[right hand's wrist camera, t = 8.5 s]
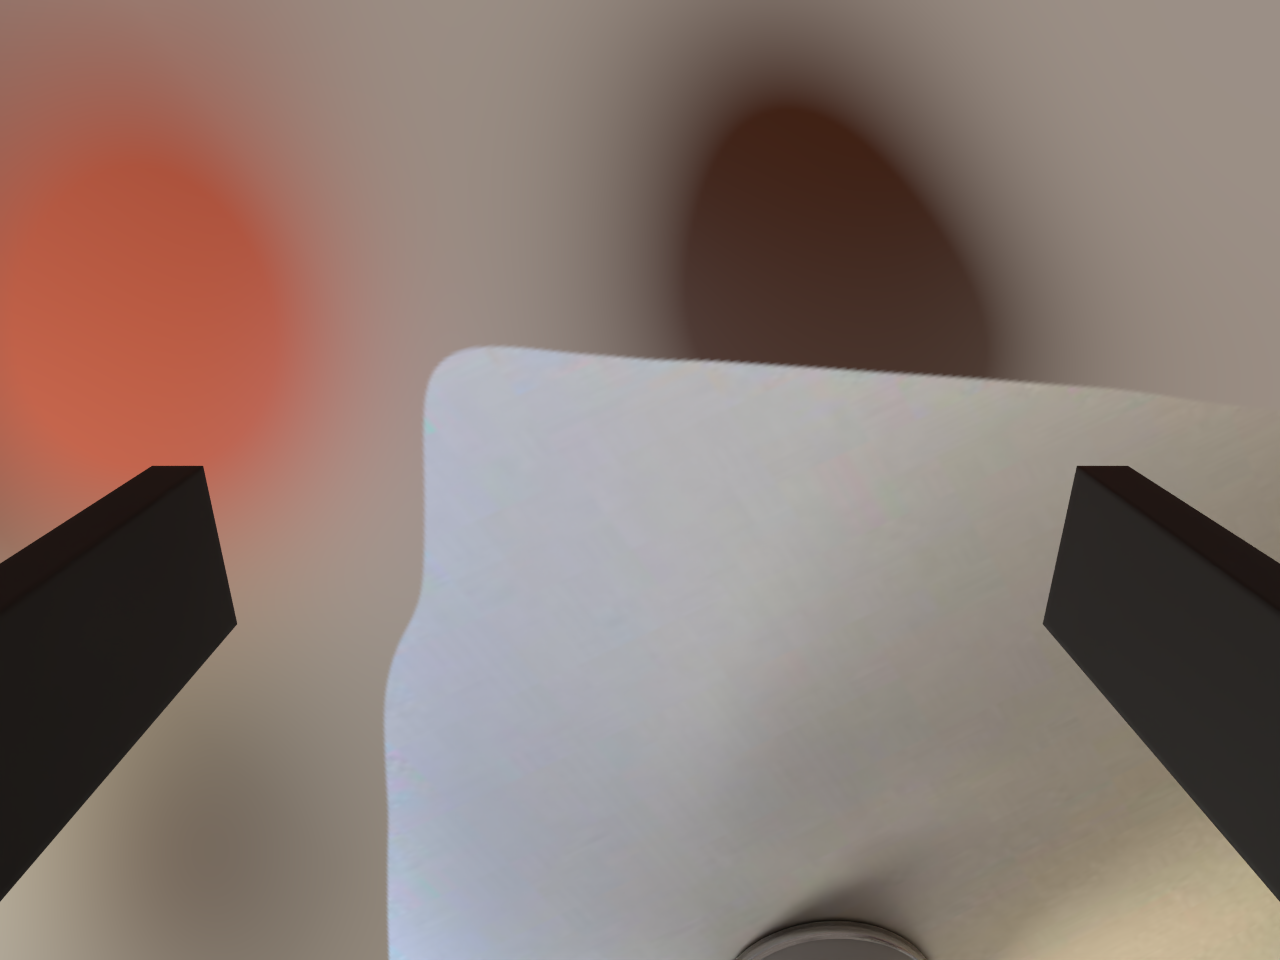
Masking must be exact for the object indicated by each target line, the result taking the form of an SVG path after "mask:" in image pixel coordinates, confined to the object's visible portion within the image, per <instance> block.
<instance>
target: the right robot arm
mask: <svg viewBox="0 0 1280 960" xmlns="http://www.w3.org/2000/svg"><path fill="white" fill-rule="evenodd" d="M236 625H237V621H236V616H235V612H234V607H233V603H232V598H231V593H230V589H229V584H228V579H227V575H226V570H225V565H224V561H223V556H222V552H221V547H220V542H219V538H218V533H217V528H216V524H215V519H214V514H213V510H212V505H211V500H210V496H209V491H208V487H207V482H206V477H205V473H204V468H203V466H151V467H150V468H148V469H147V470H145V471H144V472H142V473H140V474H139V475H137V476H136V477H134V478H133V479H131V480H130V481H128V482H126V483H125V484H123V485H122V486H120V487H119V488H117V489H115V490H114V491H112V492H111V493H109V494H108V495H106V496H105V497H103V498H101V499H100V500H98V501H97V502H95V503H94V504H92V505H91V506H89V507H87V508H86V509H84V510H83V511H81V512H80V513H78V514H77V515H75V516H74V517H72V518H70V519H69V520H67V521H66V522H64V523H63V524H61V525H60V526H58V527H56V528H55V529H53V530H52V531H50V532H49V533H47V534H46V535H44V536H42V537H41V538H39V539H38V540H36V541H35V542H33V543H32V544H30V545H28V546H27V547H25V548H24V549H22V550H21V551H19V552H18V553H16V554H14V555H13V556H11V557H10V558H8V559H7V560H5V561H4V562H2V563H0V901H1V900H2V899H3V898H4V896H5V895H6V894H7V893H8V892H9V891H10V889H11V888H12V887H13V886H14V885H15V884H16V882H17V881H18V880H19V879H20V878H21V877H22V875H23V874H24V873H25V872H26V871H27V870H28V868H29V867H30V866H31V865H32V864H33V862H34V861H35V860H36V859H37V858H38V857H39V855H40V854H41V853H42V852H43V851H44V850H45V848H46V847H47V846H48V845H49V844H50V843H51V841H52V840H53V839H54V838H55V837H56V836H57V834H58V833H59V832H60V831H61V830H62V829H63V827H64V826H65V825H66V824H67V823H68V822H69V820H70V819H71V818H72V817H73V816H74V814H75V813H76V812H77V811H78V810H79V809H80V807H81V806H82V805H83V804H84V803H85V802H86V800H87V799H88V798H89V797H90V796H91V795H92V793H93V792H94V791H95V790H96V789H97V788H98V786H99V785H100V784H101V783H102V782H103V781H104V779H105V778H106V777H107V776H108V775H109V773H110V772H111V771H112V770H113V769H114V768H115V766H116V765H117V764H118V763H119V762H120V761H121V759H122V758H123V757H124V756H125V755H126V754H127V752H128V751H129V750H130V749H131V748H132V746H133V745H134V744H135V743H136V742H137V741H138V739H139V738H140V737H141V736H142V735H143V734H144V733H145V731H146V730H147V729H148V728H149V727H150V725H151V724H152V723H153V722H154V721H155V720H156V718H157V717H158V716H159V715H160V714H161V713H162V711H163V710H164V709H165V708H166V707H167V706H168V704H169V703H170V702H171V701H172V700H173V699H174V697H175V696H176V695H177V694H178V693H179V692H180V690H181V689H182V688H183V687H184V686H185V684H186V683H187V682H188V681H189V680H190V679H191V677H192V676H193V675H194V674H195V673H196V672H197V670H198V669H199V668H200V667H201V666H202V665H203V663H204V662H205V661H206V660H207V659H208V657H209V656H210V655H211V654H212V653H213V652H214V651H215V649H216V648H217V647H218V646H219V645H220V643H221V642H222V641H223V640H224V639H225V638H226V636H227V635H228V634H229V633H230V632H231V631H232V629H233V628H234V627H235V626H236ZM1043 625H1044V626H1045V627H1046V628H1047V629H1048V631H1049V632H1050V633H1051V634H1052V635H1053V636H1054V638H1055V639H1056V640H1057V641H1058V642H1059V643H1060V645H1061V646H1062V647H1063V648H1064V649H1065V651H1066V652H1067V653H1068V654H1069V655H1070V656H1071V658H1072V659H1073V660H1074V661H1075V662H1076V663H1077V665H1078V666H1079V667H1080V668H1081V669H1082V670H1083V672H1084V673H1085V674H1086V675H1087V676H1088V677H1089V679H1090V680H1091V681H1092V682H1093V683H1094V684H1095V686H1096V687H1097V688H1098V689H1099V690H1100V692H1101V693H1102V694H1103V695H1104V696H1105V697H1106V699H1107V700H1108V701H1109V702H1110V703H1111V704H1112V706H1113V707H1114V708H1115V709H1116V710H1117V711H1118V713H1119V714H1120V715H1121V716H1122V717H1123V718H1124V720H1125V721H1126V722H1127V723H1128V724H1129V725H1130V727H1131V728H1132V729H1133V730H1134V731H1135V733H1136V734H1137V735H1138V736H1139V737H1140V738H1141V740H1142V741H1143V742H1144V743H1145V744H1146V745H1147V747H1148V748H1149V749H1150V750H1151V751H1152V752H1153V754H1154V755H1155V756H1156V757H1157V758H1158V759H1159V761H1160V762H1161V763H1162V764H1163V765H1164V766H1165V768H1166V769H1167V770H1168V771H1169V772H1170V774H1171V775H1172V776H1173V777H1174V778H1175V779H1176V781H1177V782H1178V783H1179V784H1180V785H1181V786H1182V788H1183V789H1184V790H1185V791H1186V792H1187V793H1188V795H1189V796H1190V797H1191V798H1192V799H1193V800H1194V802H1195V803H1196V804H1197V805H1198V806H1199V807H1200V809H1201V810H1202V811H1203V812H1204V813H1205V814H1206V816H1207V817H1208V818H1209V819H1210V820H1211V822H1212V823H1213V824H1214V825H1215V826H1216V827H1217V829H1218V830H1219V831H1220V832H1221V833H1222V834H1223V836H1224V837H1225V838H1226V839H1227V840H1228V841H1229V843H1230V844H1231V845H1232V846H1233V847H1234V848H1235V850H1236V851H1237V852H1238V853H1239V854H1240V855H1241V857H1242V858H1243V859H1244V860H1245V861H1246V863H1247V864H1248V865H1249V866H1250V867H1251V868H1252V870H1253V871H1254V872H1255V873H1256V874H1257V875H1258V877H1259V878H1260V879H1261V880H1262V881H1263V882H1264V884H1265V885H1266V886H1267V887H1268V888H1269V889H1270V891H1271V892H1272V893H1273V894H1274V895H1275V896H1276V898H1277V899H1278V900H1279V901H1280V563H1278V562H1276V561H1275V560H1273V559H1272V558H1270V557H1269V556H1267V555H1266V554H1264V553H1262V552H1261V551H1259V550H1258V549H1256V548H1255V547H1253V546H1252V545H1250V544H1248V543H1247V542H1245V541H1244V540H1242V539H1241V538H1239V537H1238V536H1236V535H1234V534H1233V533H1231V532H1230V531H1228V530H1227V529H1225V528H1224V527H1222V526H1220V525H1219V524H1217V523H1216V522H1214V521H1213V520H1211V519H1210V518H1208V517H1206V516H1205V515H1203V514H1202V513H1200V512H1199V511H1197V510H1196V509H1194V508H1193V507H1191V506H1189V505H1188V504H1186V503H1185V502H1183V501H1182V500H1180V499H1179V498H1177V497H1175V496H1174V495H1172V494H1171V493H1169V492H1168V491H1166V490H1165V489H1163V488H1161V487H1160V486H1158V485H1157V484H1155V483H1154V482H1152V481H1151V480H1149V479H1147V478H1146V477H1144V476H1143V475H1141V474H1140V473H1138V472H1137V471H1135V470H1133V469H1132V468H1130V467H1129V466H1077V468H1076V473H1075V477H1074V482H1073V487H1072V491H1071V496H1070V500H1069V505H1068V510H1067V514H1066V519H1065V524H1064V528H1063V533H1062V538H1061V542H1060V547H1059V552H1058V556H1057V561H1056V565H1055V570H1054V575H1053V579H1052V584H1051V589H1050V593H1049V598H1048V603H1047V607H1046V612H1045V616H1044V621H1043ZM735 960H926V958H925V957H924V956H923V954H922V953H921V952H920V951H919V950H918V949H917V948H916V947H915V946H914V945H912V944H911V943H910V942H908V941H907V940H905V939H904V938H902V937H900V936H899V935H897V934H895V933H893V932H890V931H888V930H885V929H883V928H880V927H876V926H873V925H869V924H864V923H858V922H850V921H822V922H813V923H807V924H802V925H798V926H793V927H790V928H787V929H784V930H781V931H778V932H776V933H773V934H771V935H769V936H767V937H765V938H763V939H761V940H760V941H758V942H756V943H755V944H753V945H752V946H750V947H749V948H748V949H746V950H745V951H744V952H743V953H742V954H740V955H739V956H738V957H737V958H736V959H735Z"/></svg>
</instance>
